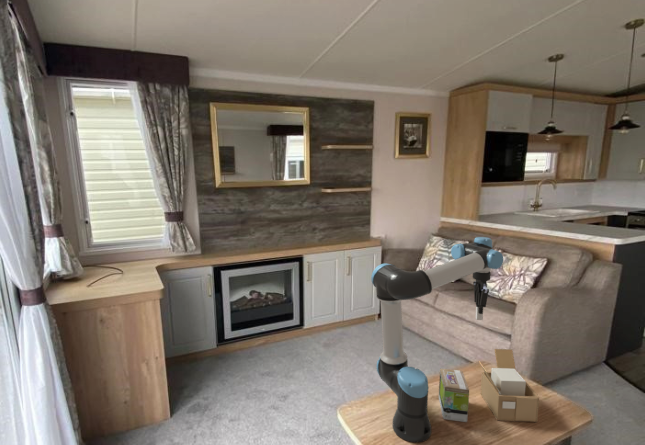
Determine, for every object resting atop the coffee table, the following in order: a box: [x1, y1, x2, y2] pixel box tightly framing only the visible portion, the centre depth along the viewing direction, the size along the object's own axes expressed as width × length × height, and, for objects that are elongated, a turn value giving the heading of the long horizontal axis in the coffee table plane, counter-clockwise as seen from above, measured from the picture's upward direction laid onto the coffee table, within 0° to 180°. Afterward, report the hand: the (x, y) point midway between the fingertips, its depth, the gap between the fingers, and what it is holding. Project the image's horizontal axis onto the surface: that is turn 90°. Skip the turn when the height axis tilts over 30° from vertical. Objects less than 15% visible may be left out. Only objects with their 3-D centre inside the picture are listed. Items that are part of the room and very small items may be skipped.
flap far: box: [494, 348, 517, 371], centre depth 159 cm, size 10×8×1 cm
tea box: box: [438, 368, 470, 423], centre depth 149 cm, size 15×10×15 cm
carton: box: [480, 367, 540, 423], centre depth 149 cm, size 16×19×15 cm
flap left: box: [478, 360, 499, 392], centre depth 147 cm, size 10×9×1 cm
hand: (479, 319), depth 161 cm, fingers closed
